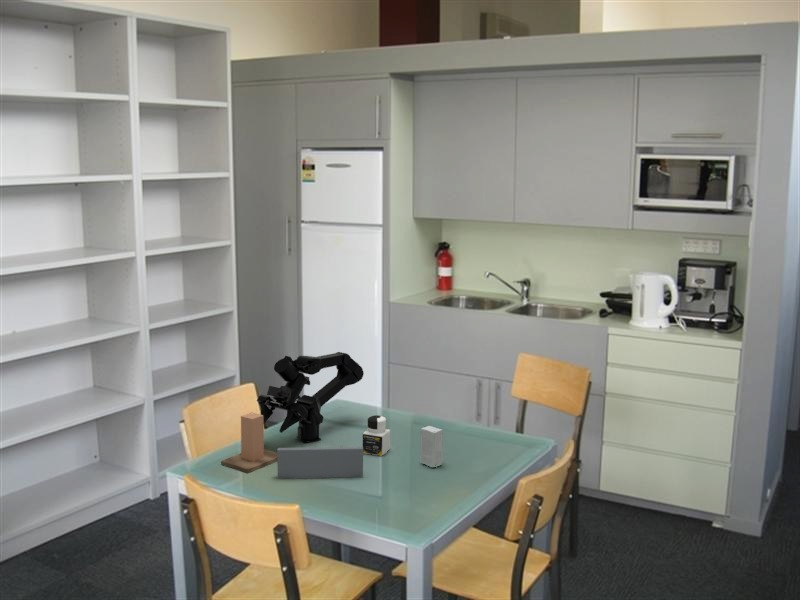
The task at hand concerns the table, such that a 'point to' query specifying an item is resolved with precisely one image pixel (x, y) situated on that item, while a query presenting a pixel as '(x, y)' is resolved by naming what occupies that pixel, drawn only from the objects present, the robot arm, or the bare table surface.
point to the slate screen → (320, 462)
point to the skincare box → (431, 445)
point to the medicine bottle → (376, 436)
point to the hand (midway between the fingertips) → (269, 429)
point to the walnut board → (250, 462)
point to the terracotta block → (252, 436)
